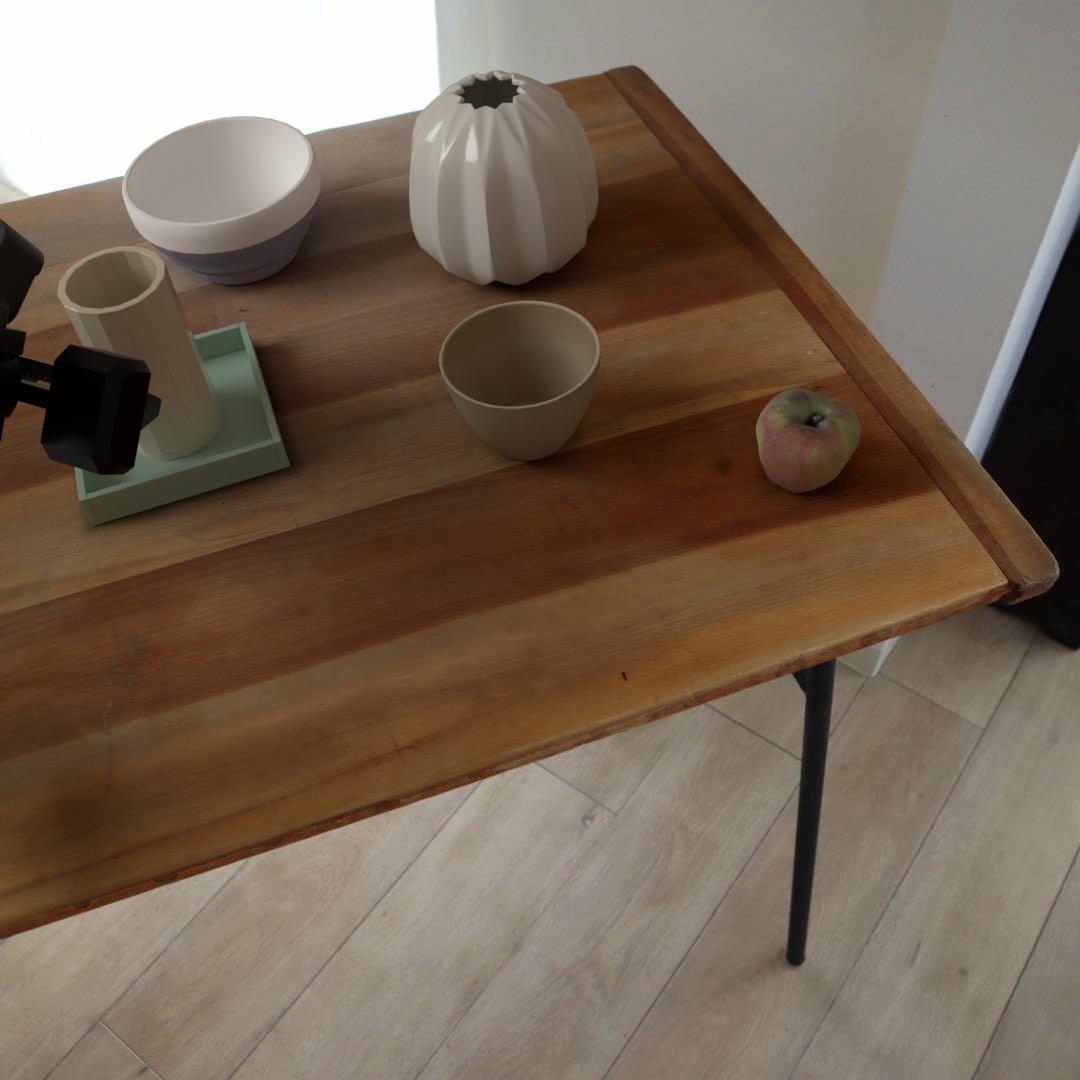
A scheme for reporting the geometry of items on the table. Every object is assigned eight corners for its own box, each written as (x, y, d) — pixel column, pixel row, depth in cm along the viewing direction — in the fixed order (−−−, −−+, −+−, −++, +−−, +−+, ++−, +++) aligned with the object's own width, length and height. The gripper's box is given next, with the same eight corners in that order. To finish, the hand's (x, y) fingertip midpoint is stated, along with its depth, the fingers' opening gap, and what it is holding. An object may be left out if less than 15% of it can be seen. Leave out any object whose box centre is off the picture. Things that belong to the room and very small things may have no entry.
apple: (716, 449, 76) (720, 381, 71) (838, 428, 76) (849, 360, 71) (742, 519, 72) (748, 452, 67) (869, 496, 72) (884, 428, 68)
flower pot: (609, 382, 80) (605, 298, 75) (599, 491, 74) (594, 409, 69) (465, 380, 82) (451, 298, 76) (443, 487, 75) (426, 406, 70)
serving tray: (92, 526, 75) (78, 501, 74) (74, 397, 83) (61, 372, 82) (290, 466, 77) (281, 441, 76) (253, 346, 86) (244, 320, 84)
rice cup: (174, 473, 77) (106, 326, 68) (110, 438, 80) (35, 291, 70) (242, 414, 80) (186, 265, 71) (178, 382, 83) (115, 234, 73)
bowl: (145, 324, 88) (109, 239, 82) (161, 211, 97) (129, 128, 92) (338, 297, 88) (316, 211, 83) (335, 187, 98) (315, 103, 92)
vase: (433, 199, 95) (407, 41, 85) (604, 198, 94) (599, 37, 84) (405, 310, 87) (371, 148, 77) (593, 311, 85) (584, 146, 75)
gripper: (56, 239, 53) (250, 288, 68) (-239, 171, 59) (-1, 230, 74) (15, 478, 55) (214, 476, 69) (-268, 389, 60) (-29, 404, 75)
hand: (96, 389), depth 72 cm, fingers open, 9 cm apart
